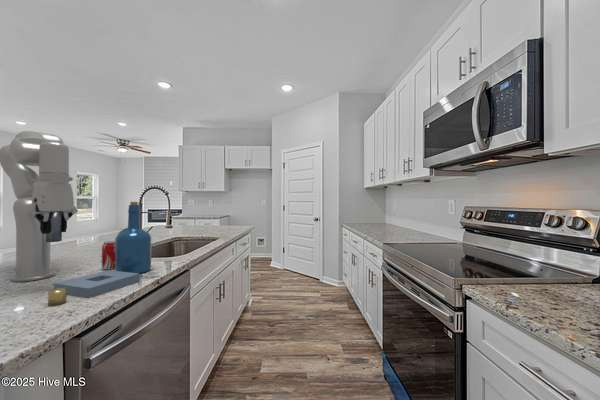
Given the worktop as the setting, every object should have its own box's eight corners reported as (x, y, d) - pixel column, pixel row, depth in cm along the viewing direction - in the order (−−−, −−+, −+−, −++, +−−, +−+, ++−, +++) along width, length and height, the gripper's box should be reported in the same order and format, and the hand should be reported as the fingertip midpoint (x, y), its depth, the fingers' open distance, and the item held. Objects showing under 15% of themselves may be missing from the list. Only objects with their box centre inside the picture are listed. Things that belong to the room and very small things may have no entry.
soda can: (110, 271, 115) (111, 243, 115) (97, 270, 116) (97, 242, 116) (124, 267, 122) (124, 240, 122) (111, 266, 123) (112, 240, 123)
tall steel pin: (42, 242, 89) (43, 212, 90) (57, 240, 93) (57, 211, 93) (50, 242, 88) (50, 212, 88) (64, 240, 92) (64, 211, 92)
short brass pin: (44, 305, 77) (44, 291, 77) (60, 300, 81) (60, 287, 81) (53, 307, 76) (53, 293, 76) (69, 302, 79) (69, 288, 80)
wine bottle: (158, 269, 118) (158, 201, 118) (129, 277, 105) (130, 201, 105) (136, 266, 123) (136, 201, 123) (106, 274, 110) (107, 201, 110)
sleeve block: (54, 292, 88) (54, 283, 88) (108, 277, 105) (108, 270, 105) (88, 298, 83) (88, 288, 83) (139, 281, 100) (139, 273, 100)
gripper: (74, 181, 100) (74, 230, 100) (14, 177, 84) (14, 235, 84) (88, 180, 98) (88, 230, 97) (29, 176, 82) (29, 236, 82)
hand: (53, 232), depth 91 cm, fingers closed on tall steel pin, 4 cm apart
